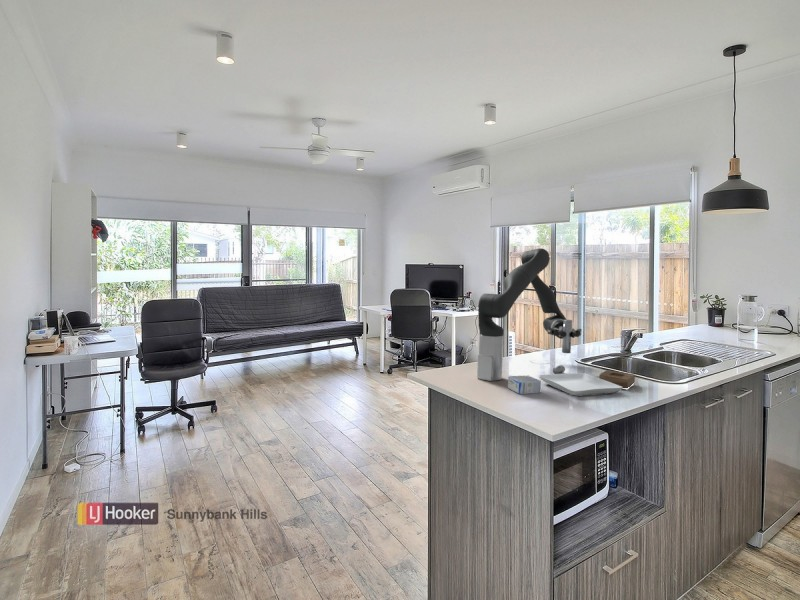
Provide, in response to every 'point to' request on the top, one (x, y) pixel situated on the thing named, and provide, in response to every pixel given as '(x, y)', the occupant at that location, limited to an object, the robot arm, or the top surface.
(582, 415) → the top surface
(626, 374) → the hole block
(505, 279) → the robot arm
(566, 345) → the tall pin
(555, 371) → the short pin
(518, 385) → the medicine box
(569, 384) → the salad plate
